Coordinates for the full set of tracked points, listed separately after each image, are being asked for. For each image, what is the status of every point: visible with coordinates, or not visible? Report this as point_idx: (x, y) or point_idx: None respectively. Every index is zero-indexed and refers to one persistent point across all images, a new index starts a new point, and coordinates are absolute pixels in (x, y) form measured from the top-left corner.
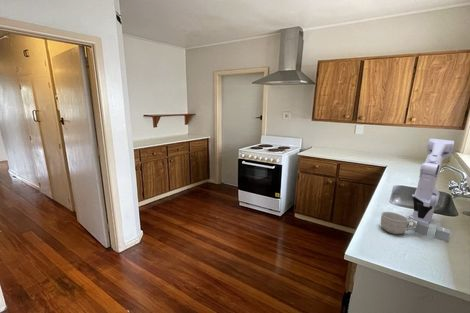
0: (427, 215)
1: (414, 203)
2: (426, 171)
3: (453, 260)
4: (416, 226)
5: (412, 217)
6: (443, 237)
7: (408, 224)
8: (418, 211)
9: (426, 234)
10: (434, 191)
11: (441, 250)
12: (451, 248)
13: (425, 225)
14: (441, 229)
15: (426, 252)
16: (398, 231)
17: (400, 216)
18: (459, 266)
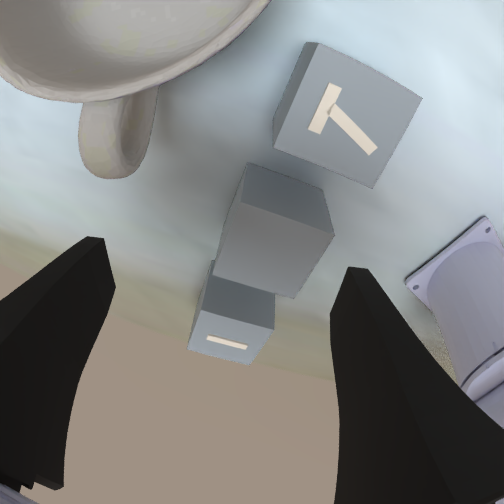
0: (441, 326)
1: (391, 372)
2: None
3: (28, 253)
4: (243, 188)
5: (476, 235)
6: (198, 303)
7: (275, 128)
8: (9, 295)
9: (223, 228)
10: (498, 501)
11: (75, 240)
12: (132, 290)
13: (239, 262)
14: (223, 333)
15: (8, 164)
16: (54, 16)
17: (230, 24)
18: (6, 255)
